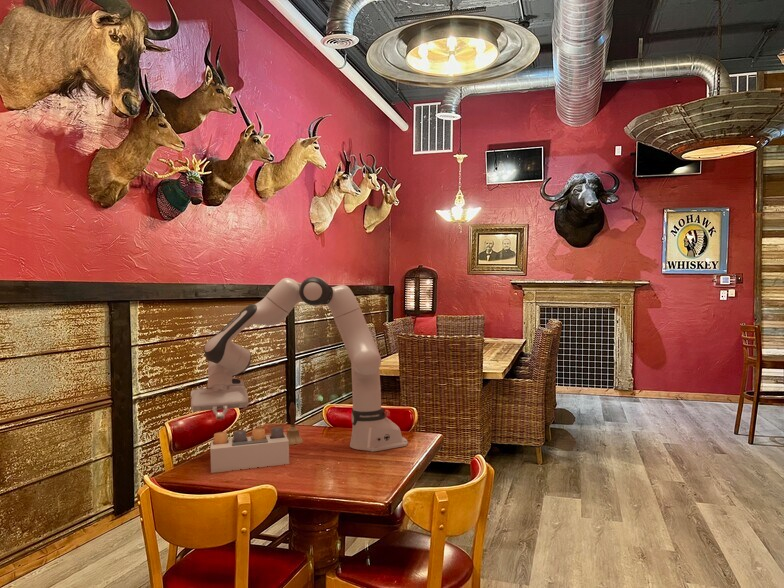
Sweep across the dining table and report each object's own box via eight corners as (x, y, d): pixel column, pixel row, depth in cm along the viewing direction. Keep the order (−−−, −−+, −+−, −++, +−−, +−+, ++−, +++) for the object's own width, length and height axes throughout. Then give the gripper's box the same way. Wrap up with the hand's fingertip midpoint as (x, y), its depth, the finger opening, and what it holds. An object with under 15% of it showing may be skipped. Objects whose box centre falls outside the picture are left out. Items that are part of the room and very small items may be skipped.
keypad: (285, 454, 201) (285, 431, 201) (289, 464, 189) (288, 439, 189) (212, 462, 193) (211, 439, 193) (211, 473, 182) (210, 448, 182)
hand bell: (307, 441, 219) (306, 401, 219) (293, 446, 212) (292, 405, 212) (292, 438, 223) (291, 399, 223) (278, 443, 216) (277, 403, 216)
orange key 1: (227, 449, 193) (227, 431, 193) (227, 453, 189) (227, 434, 189) (214, 451, 192) (214, 432, 192) (214, 454, 188) (213, 435, 188)
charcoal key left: (283, 443, 199) (282, 426, 199) (284, 447, 195) (283, 429, 195) (270, 445, 198) (270, 427, 198) (271, 448, 193) (271, 430, 193)
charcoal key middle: (246, 447, 195) (245, 429, 195) (246, 451, 191) (246, 432, 191) (233, 449, 194) (233, 430, 194) (233, 452, 190) (233, 433, 190)
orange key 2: (264, 445, 197) (264, 427, 197) (265, 449, 193) (265, 430, 193) (252, 447, 196) (251, 429, 196) (253, 450, 191) (252, 432, 191)
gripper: (190, 383, 199) (188, 415, 189) (247, 379, 205) (249, 410, 195) (191, 393, 203) (190, 425, 194) (247, 389, 209) (249, 420, 200)
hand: (220, 418), depth 195 cm, fingers closed
